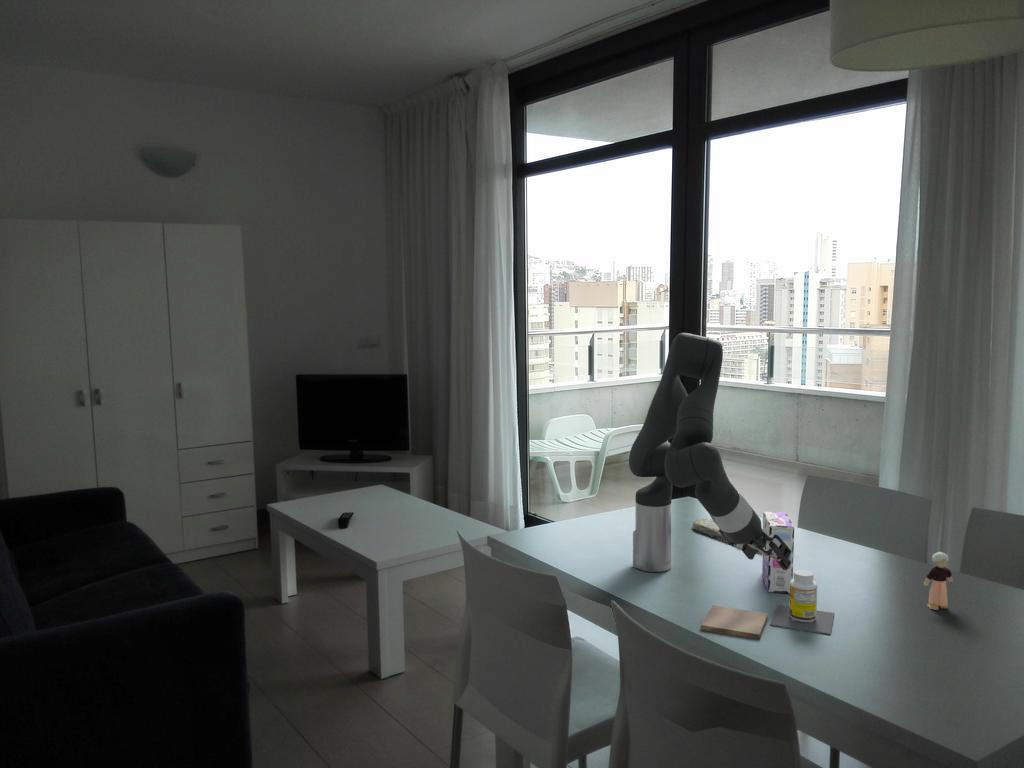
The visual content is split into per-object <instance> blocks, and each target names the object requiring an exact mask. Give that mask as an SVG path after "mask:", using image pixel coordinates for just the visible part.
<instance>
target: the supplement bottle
mask: <svg viewBox="0 0 1024 768" xmlns="http://www.w3.org/2000/svg"><path fill="white" fill-rule="evenodd" d="M814 579H815V578H814V573H813V572H812V571H809V570H806V569H796V570H795V571H794V570H793V579H792V580H791V581H790V593H789V606H790V610H789V614H790V617H791V618H792V619H793V620H796V621H799V622H813V621H815V620H816V616H817V611H818V608H817V606H818V604H817V603H818V584H817V582H816V581H815V580H814Z"/></svg>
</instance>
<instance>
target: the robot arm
mask: <svg viewBox="0 0 1024 768" xmlns="http://www.w3.org/2000/svg"><path fill="white" fill-rule="evenodd" d="M666 357H667V358H666V361H665V365H664V368H663V371H662V375H661V378H660V381H659V384H658V386H657V389H656V390H655V394H654V396H653V398H652V400H651V402H650V404H649V408H648V409H647V415H646V417H645V419H644V422H643V424H642V427H641V429H640V431H639V433H637V434H638V435H637V436H636V438H635V440H634V442H633V444H632V446H631V448H630V451H629V456H628V465H629V470H630V472H631V473H632V474H633V475H634V476H635V477H638V478H655V479H654V480H653V481H652V482H651V483H650V484H647V485H646V486H644V487H641V488H639V489H637V491H636V492H635V500H634V501H635V504H634V505H635V513H634V514H635V517H634V518H635V526H634V527H635V530H634V531H633V533H632V568H634V569H635V568H636V569H639V570H641V571H645V572H650V573H661V572H665V571H669V570H670V569H671V568H672V496H673V486H674V487H678V488H687V487H691V486H693V485H695V489H694V494H695V497H696V499H697V501H698V502H699V503H700V505H701V506H702V507H703V508H704V509H705V511H706V512H707V513H708V514H709V516H710V519H712V520H713V521H714V522H715V524H716V525H717V526H718V527H719V528H720V529H719V532H720V533H721V535H722V536H723V537H724V539H725V540H726V541H727V542H726V541H725V542H726V543H727V544H728V546H731V547H734V546H736V548H737V550H739V551H742V553H743V554H744V555H745V557H747V559H748V560H750V561H751V560H754V558H755V556H756V554H757V552H759V553H761V554H762V556H763V555H765V556H770V557H772V558H773V559H775V560H776V562H777V563H778V564H779V565H780V567H781V568H782V569H783V570H787V569H788V568H789V566H790V565H791V561H790V560H789V559H788V558H789V556H790V554H791V552H792V551H791V550H790V549H789V548H788V546H787V545H786V544H785V543H784V542H783V540H782V539H781V538H780V537H779V536H778V535H774V536H773V538H771V537H769V536H768V535H767V534H766V533H765V532H764V531H763V530H762V529H763V526H762V520H761V518H760V516H759V515H758V514H757V512H756V511H755V510H754V508H753V507H752V506H751V504H750V503H749V502H748V501H747V499H746V498H745V497H744V496H743V495H742V494H741V493H740V492H739V491H738V490H737V489H736V487H735V486H734V485H733V484H732V482H731V481H730V479H729V477H728V474H727V473H726V470H725V467H724V464H723V460H722V456H721V454H720V451H719V450H718V448H717V447H716V446H715V445H713V444H712V441H713V438H714V411H715V405H716V404H715V403H716V398H717V394H718V389H719V383H720V379H721V373H722V365H723V361H724V359H723V357H724V349H723V345H722V342H721V341H719V340H717V339H715V338H713V337H708V336H707V337H706V336H702V335H697V334H693V333H688V332H680V333H678V334H677V335H676V336H675V337H674V338H673V339H672V342H671V345H670V347H669V350H668V354H667V356H666ZM680 376H681V377H682V376H684V377H687V378H692V379H698V380H702V382H701V383H700V384H699V385H698V387H696V388H695V389H694V390H693V391H691V392H690V393H688V392H687V390H686V388H685V386H684V385H683V383H682V381H681V377H680ZM671 439H672V440H671ZM670 440H671V442H669V441H670ZM766 543H768V544H769V547H768V549H767V550H766V551H765V550H764V549H763V548H764V547H765V545H766ZM755 549H756V550H758V551H756V550H755ZM772 551H774V552H775V553H776V555H775V554H773V553H772Z"/></svg>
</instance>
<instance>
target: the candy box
mask: <svg viewBox="0 0 1024 768" xmlns="http://www.w3.org/2000/svg"><path fill="white" fill-rule="evenodd" d="M762 529H763V531H764V532H765V533H766V534H767V535H768V536H769V537H771V538H773V536H774V535H778V536H779V537H780V538H781V539H782V540H783V542H784V543H785V544H786V545H787V546H788V548H789V549H790V550H791V551H792V552H791V554H790V556H789V558H788V559H789V560H790V561H791V565H790V566H789V568H788V569H787V570H783V569H782V568H781V567H780V565H779V564H778V563H777V562H776V560H775V559H773V558H772V557H770V556H765V555H763V554H762V562H761V563H762V569H761V572H762V573H761V574H762V575H761V576H762V577H763V581H764V583H765V585H766V589H767V593H776V594H777V593H779V594H782V593H783V594H790V581H791V580H792V579H794V550H795V549H794V548H795V546H794V543H795V526H794V524H793V522H792V521H791V519H790V517H789V515H788V514H787V512H784V511H783V512H782V511H763V512H762ZM768 547H769V544H768V543H766V545H765V547H764V548H763V549H764V550H765V551H766V550H767V549H768ZM772 553H773V554H775V555H776V553H775V552H774V551H772Z"/></svg>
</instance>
